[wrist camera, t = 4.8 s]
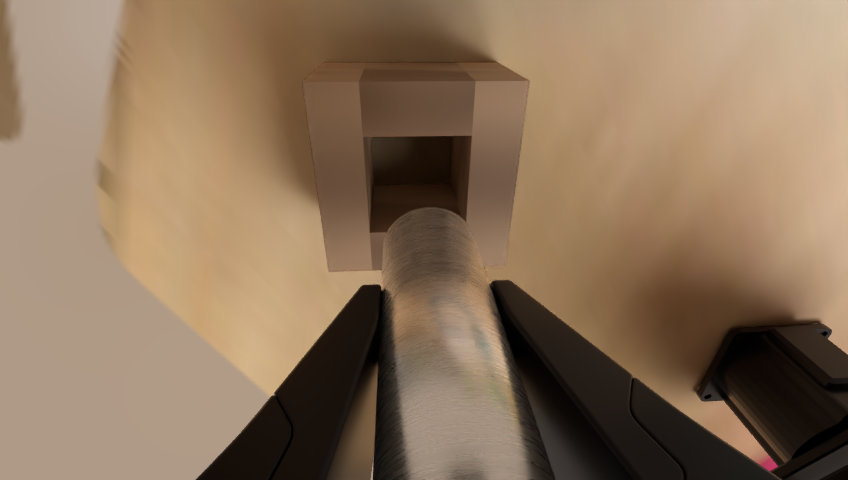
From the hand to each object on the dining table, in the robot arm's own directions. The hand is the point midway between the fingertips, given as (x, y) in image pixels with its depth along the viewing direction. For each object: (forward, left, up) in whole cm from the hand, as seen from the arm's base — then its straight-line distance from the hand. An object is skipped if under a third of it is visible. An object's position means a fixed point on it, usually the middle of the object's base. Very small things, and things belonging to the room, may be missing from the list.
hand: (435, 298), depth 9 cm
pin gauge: (0, 0, -2) cm, 2 cm away
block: (0, 0, -11) cm, 11 cm away
